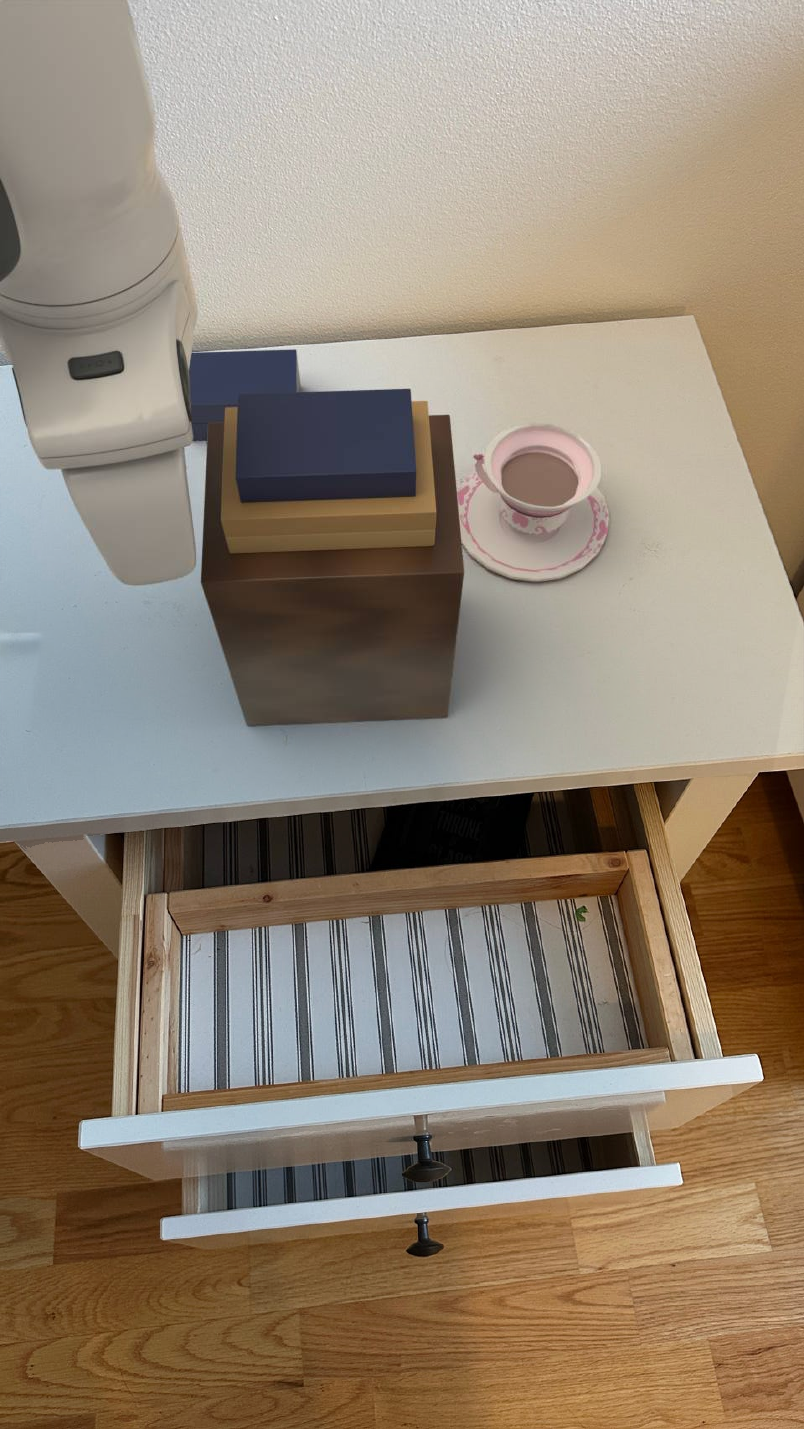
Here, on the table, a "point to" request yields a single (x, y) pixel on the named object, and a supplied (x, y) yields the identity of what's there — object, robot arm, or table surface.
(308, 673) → the book stand
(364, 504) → the tan books
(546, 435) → the teacup
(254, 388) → the navy books
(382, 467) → the navy book
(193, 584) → the table surface
